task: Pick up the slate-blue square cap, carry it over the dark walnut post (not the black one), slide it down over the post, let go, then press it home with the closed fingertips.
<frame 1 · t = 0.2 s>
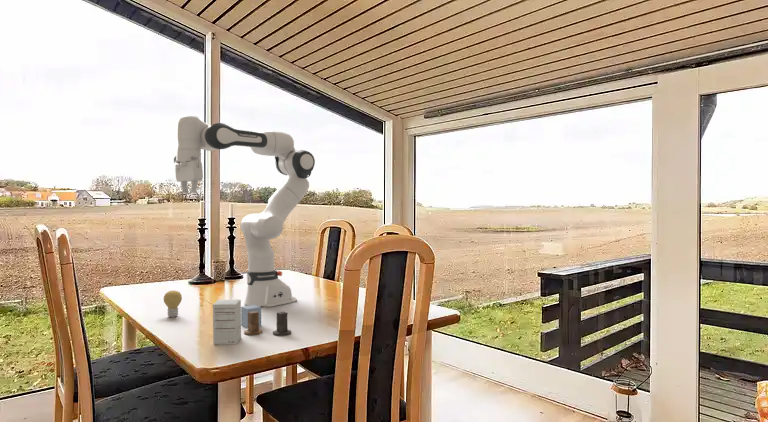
hand: (189, 193, 192), 48 cm above the table, tool pointing down, fingers open, 8 cm apart
walnut post: (253, 332, 166), on the table
black post: (282, 333, 165), on the table
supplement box: (227, 341, 156), on the table
light bulb: (172, 316, 189), on the table
cap: (251, 325, 176), on the table
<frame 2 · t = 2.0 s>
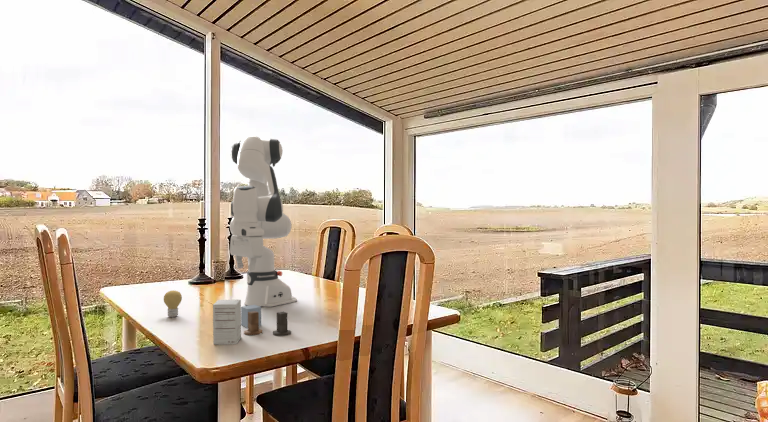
hand: (245, 269, 176), 20 cm above the table, tool pointing down, fingers open, 8 cm apart
nothing on the table moved.
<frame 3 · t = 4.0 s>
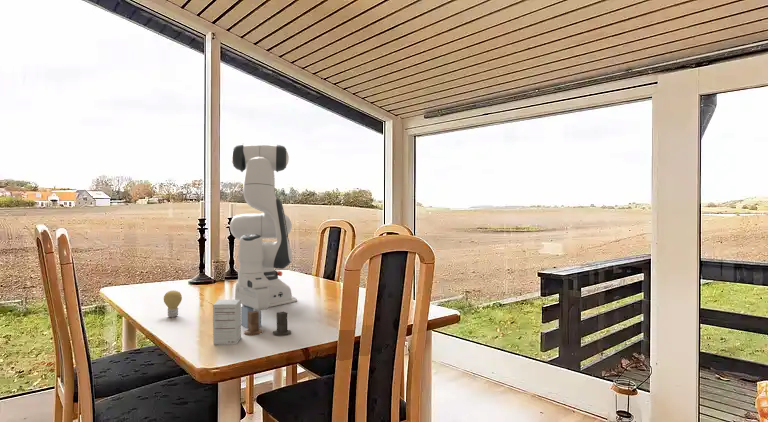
hand: (251, 318, 176), 2 cm above the table, tool pointing down, fingers closed on cap, 5 cm apart
cap: (251, 325, 176), on the table, touching gripper
everything else where it was.
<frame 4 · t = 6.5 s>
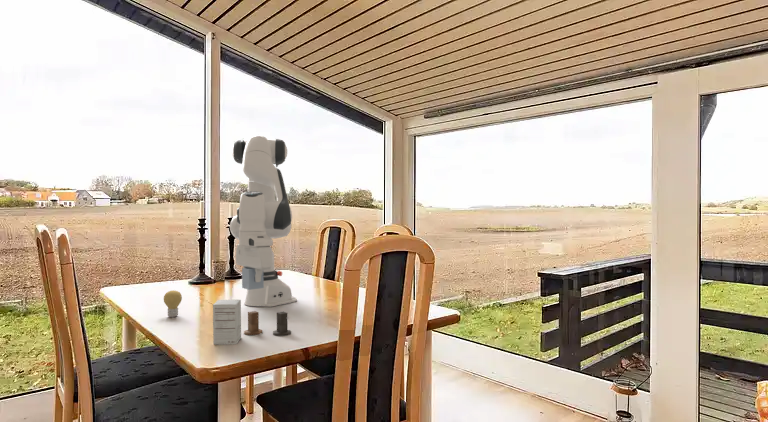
hand: (252, 280, 165), 18 cm above the table, tool pointing down, fingers closed on cap, 5 cm apart
cap: (252, 287, 165), point 15 cm above the table, touching gripper
everything else where it was.
when the fingers open (5 cm above the table, at t = 9.0 s): cap drops 1 cm, resting on walnut post.
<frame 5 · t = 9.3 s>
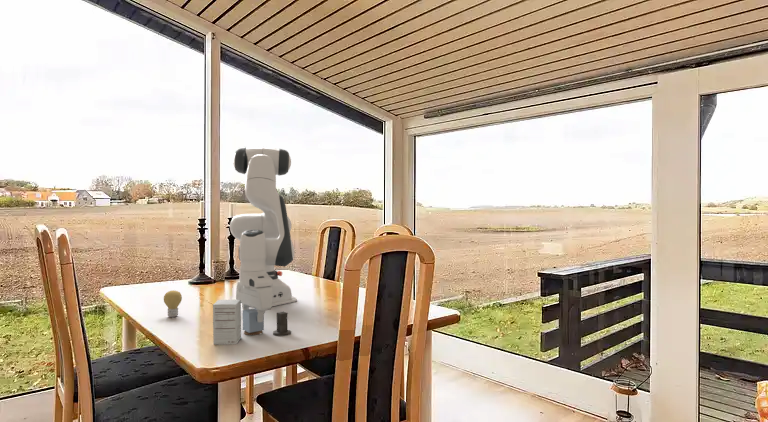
hand: (253, 319, 166), 5 cm above the table, tool pointing down, fingers open, 8 cm apart
cap: (253, 329, 166), point 1 cm above the table, touching walnut post
everything else where it was.
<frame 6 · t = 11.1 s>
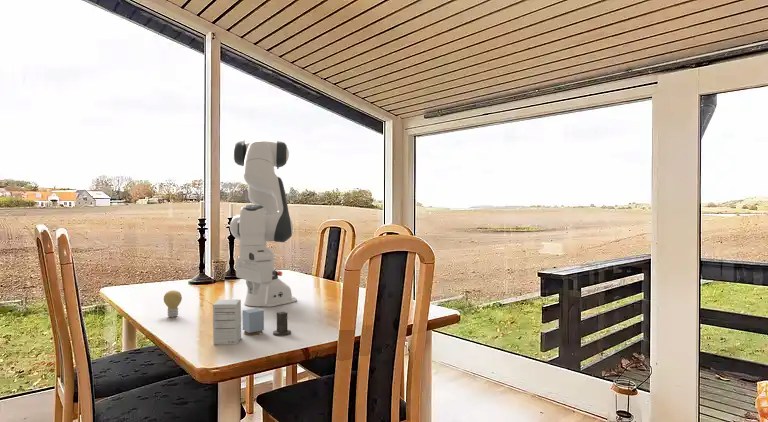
hand: (253, 294, 165), 13 cm above the table, tool pointing down, fingers closed
nothing on the table moved.
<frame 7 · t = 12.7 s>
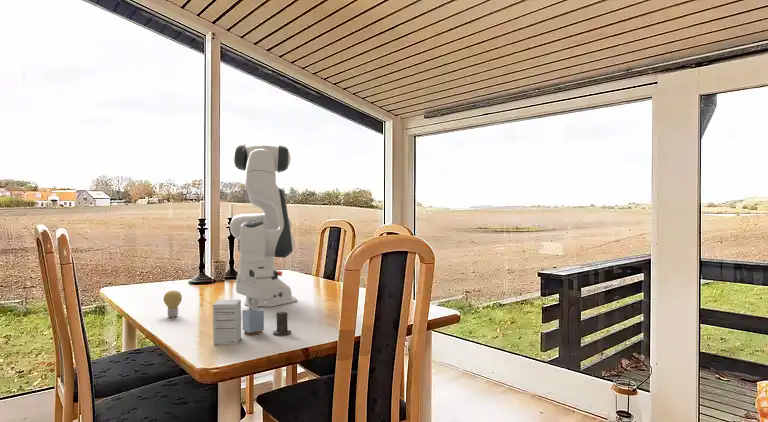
hand: (253, 310, 165), 8 cm above the table, tool pointing down, fingers closed, pressing on cap
cap: (253, 329, 166), point 1 cm above the table, touching gripper, walnut post
everything else where it was.
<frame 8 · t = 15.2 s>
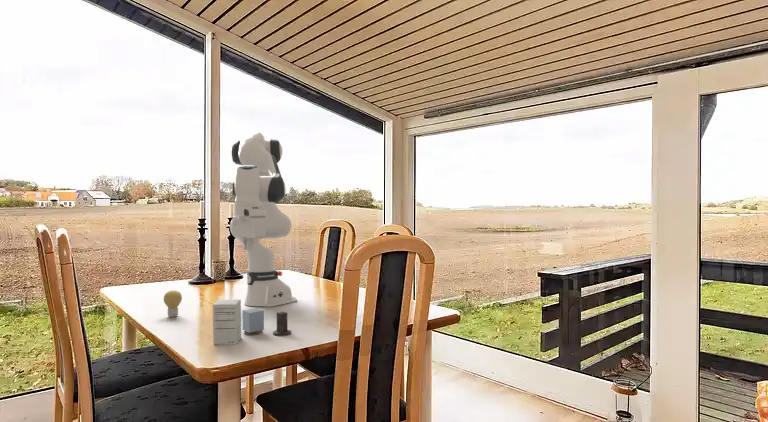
hand: (248, 250, 172), 27 cm above the table, tool pointing down, fingers closed
cap: (253, 329, 166), point 1 cm above the table, touching walnut post
everything else where it was.
at the end: cap 0.0 cm from the walnut post (horizontally); cap point 1.0 cm above the table; the gripper is holding nothing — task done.
